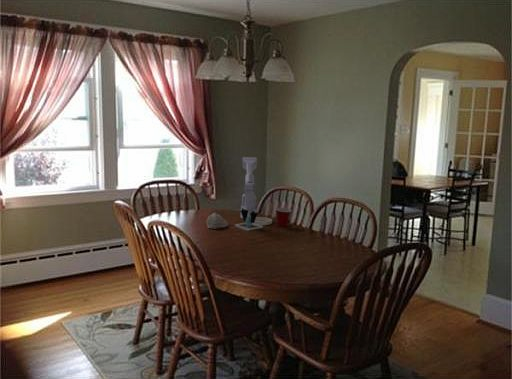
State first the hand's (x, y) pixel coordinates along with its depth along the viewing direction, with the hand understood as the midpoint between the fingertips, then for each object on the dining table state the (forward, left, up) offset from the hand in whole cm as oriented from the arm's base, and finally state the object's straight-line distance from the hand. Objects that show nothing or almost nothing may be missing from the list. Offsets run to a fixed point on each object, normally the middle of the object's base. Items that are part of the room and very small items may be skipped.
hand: (248, 221), depth 302 cm
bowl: (-4, +14, -4) cm, 15 cm away
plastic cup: (+11, +20, -4) cm, 23 cm away
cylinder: (0, 0, -3) cm, 3 cm away
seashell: (-15, -15, -4) cm, 22 cm away
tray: (0, 0, -4) cm, 4 cm away
